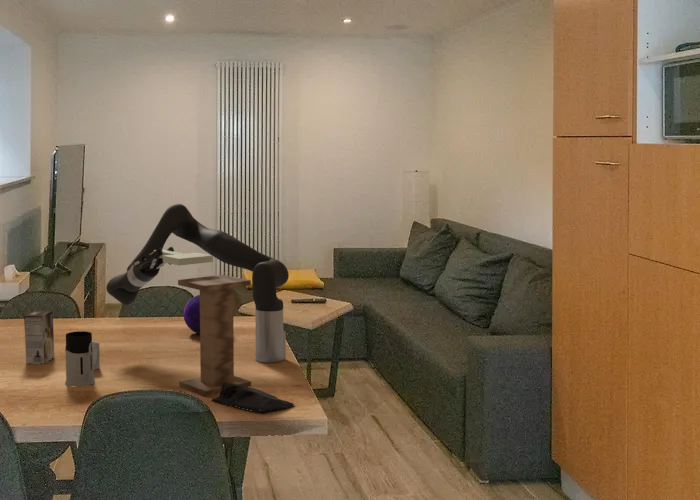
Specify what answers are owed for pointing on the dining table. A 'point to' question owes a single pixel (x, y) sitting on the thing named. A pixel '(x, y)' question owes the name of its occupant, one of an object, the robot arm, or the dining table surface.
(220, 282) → the walnut stand
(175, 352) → the dining table surface
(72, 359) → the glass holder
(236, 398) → the black folded cloth
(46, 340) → the coffee box
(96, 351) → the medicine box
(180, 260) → the paddle board
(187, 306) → the decorative orb
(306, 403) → the dining table surface
